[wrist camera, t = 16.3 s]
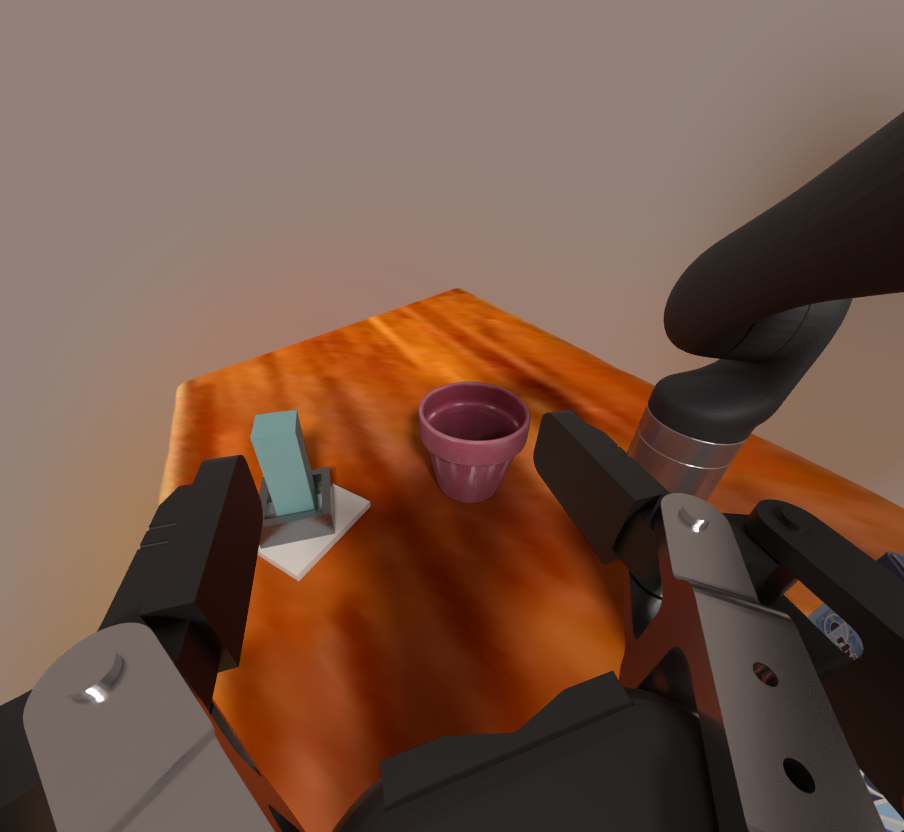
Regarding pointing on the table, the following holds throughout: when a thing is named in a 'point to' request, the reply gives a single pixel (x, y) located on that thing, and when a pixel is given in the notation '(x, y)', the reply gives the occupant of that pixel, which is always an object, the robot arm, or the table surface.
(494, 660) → the table surface
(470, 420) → the plant pot
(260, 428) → the teal peg
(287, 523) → the metal collar
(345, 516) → the base board
